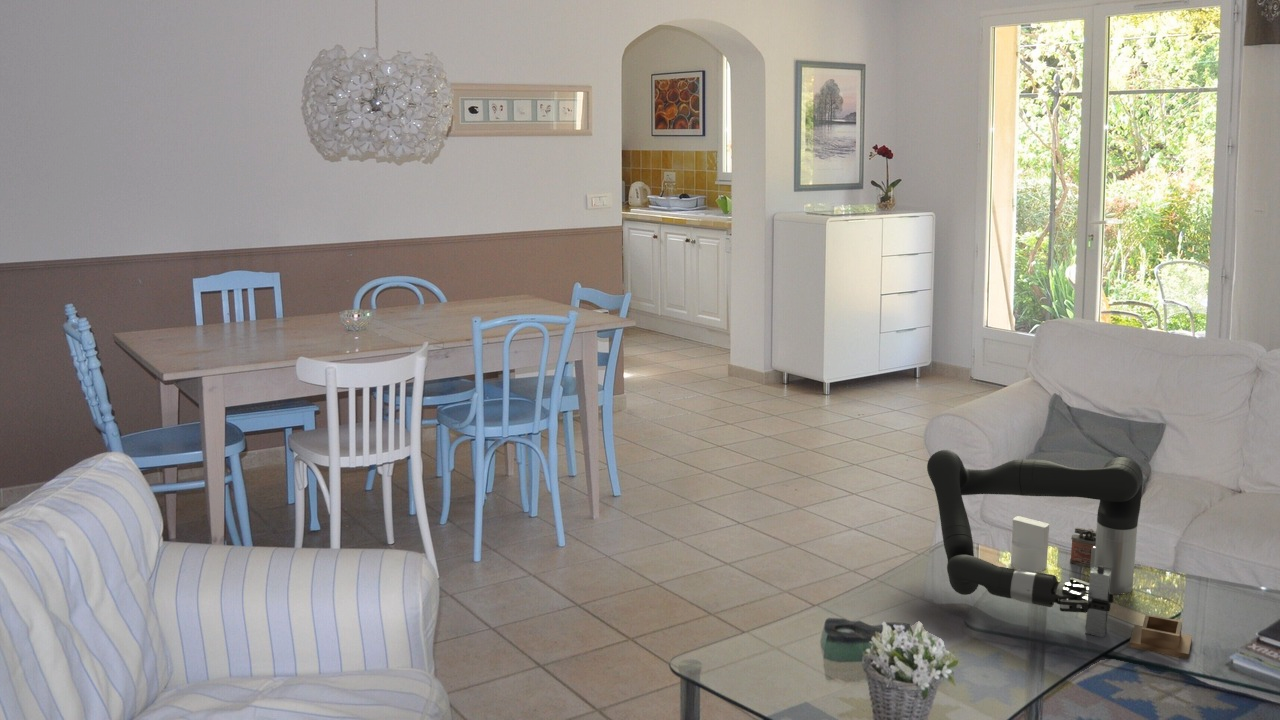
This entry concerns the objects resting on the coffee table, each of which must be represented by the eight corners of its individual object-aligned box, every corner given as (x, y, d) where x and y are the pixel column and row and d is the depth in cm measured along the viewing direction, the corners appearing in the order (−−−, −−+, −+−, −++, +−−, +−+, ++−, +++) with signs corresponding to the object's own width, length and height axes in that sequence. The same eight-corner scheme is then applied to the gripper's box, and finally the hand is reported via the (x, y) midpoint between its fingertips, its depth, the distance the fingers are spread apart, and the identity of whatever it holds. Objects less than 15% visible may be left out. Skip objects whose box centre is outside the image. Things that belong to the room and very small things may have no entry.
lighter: (1103, 565, 291) (1106, 530, 289) (1101, 570, 289) (1103, 534, 286) (1071, 559, 296) (1073, 524, 293) (1068, 564, 293) (1070, 529, 290)
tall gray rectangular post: (1085, 633, 258) (1090, 567, 254) (1088, 625, 262) (1093, 560, 257) (1103, 637, 256) (1109, 571, 252) (1106, 629, 260) (1111, 564, 255)
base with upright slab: (1052, 562, 294) (1055, 520, 291) (1037, 574, 288) (1040, 531, 285) (1019, 553, 300) (1022, 512, 297) (1004, 565, 294) (1006, 522, 291)
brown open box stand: (1129, 646, 252) (1130, 628, 251) (1134, 629, 259) (1135, 610, 258) (1188, 658, 246) (1190, 639, 245) (1191, 640, 254) (1193, 621, 252)
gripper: (1028, 585, 257) (1108, 600, 249) (1040, 561, 269) (1117, 574, 260) (1026, 615, 259) (1105, 631, 251) (1038, 589, 271) (1114, 604, 262)
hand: (1111, 602), depth 256 cm, fingers closed on tall gray rectangular post, 4 cm apart
